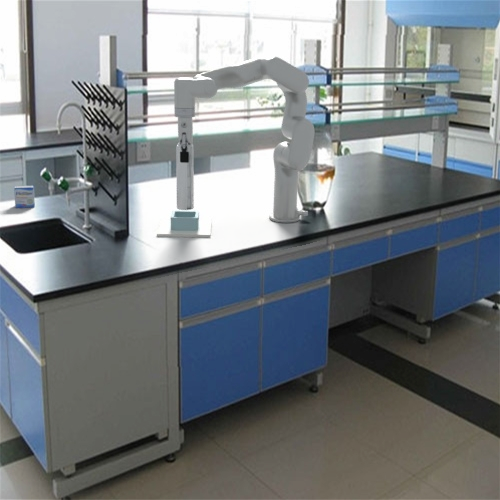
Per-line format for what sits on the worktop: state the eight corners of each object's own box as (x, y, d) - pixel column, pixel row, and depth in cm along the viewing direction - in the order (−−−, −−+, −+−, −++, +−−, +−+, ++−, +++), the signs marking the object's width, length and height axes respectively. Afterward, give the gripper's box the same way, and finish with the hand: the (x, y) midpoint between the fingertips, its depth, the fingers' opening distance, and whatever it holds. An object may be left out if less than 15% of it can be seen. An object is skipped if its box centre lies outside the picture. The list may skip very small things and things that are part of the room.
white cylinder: (194, 205, 280) (194, 141, 272) (193, 210, 274) (193, 144, 266) (177, 205, 280) (176, 141, 272) (176, 210, 274) (175, 144, 266)
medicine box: (15, 208, 302) (13, 188, 300) (15, 205, 307) (14, 185, 304) (34, 207, 304) (33, 187, 302) (35, 204, 309) (33, 184, 306)
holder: (211, 222, 290) (211, 208, 288) (210, 237, 271) (210, 221, 269) (161, 221, 289) (161, 207, 287) (156, 236, 270) (156, 221, 268)
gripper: (194, 115, 258) (194, 165, 263) (195, 109, 274) (195, 156, 280) (172, 115, 257) (173, 165, 263) (176, 109, 274) (176, 155, 279)
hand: (185, 160), depth 271 cm, fingers closed on white cylinder, 6 cm apart
